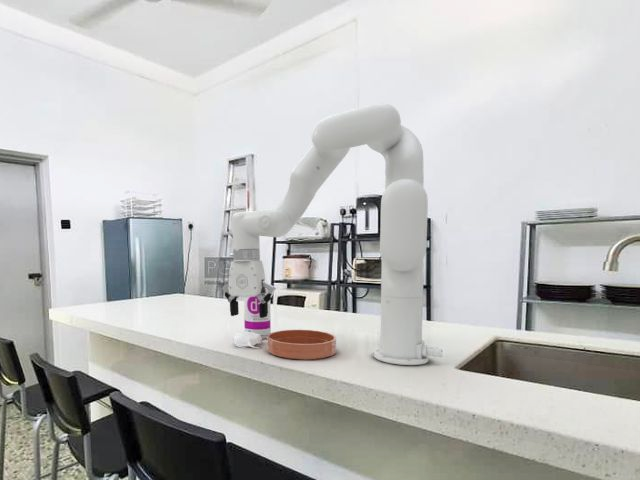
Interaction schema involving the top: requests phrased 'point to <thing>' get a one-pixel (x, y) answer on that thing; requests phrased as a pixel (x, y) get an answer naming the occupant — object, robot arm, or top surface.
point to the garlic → (247, 339)
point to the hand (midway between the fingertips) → (248, 316)
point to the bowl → (301, 344)
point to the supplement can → (256, 317)
